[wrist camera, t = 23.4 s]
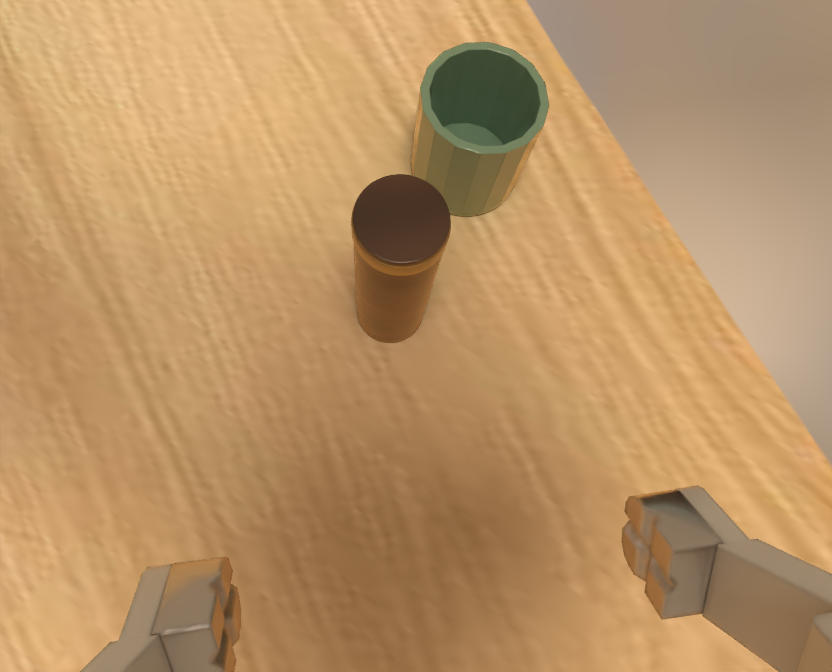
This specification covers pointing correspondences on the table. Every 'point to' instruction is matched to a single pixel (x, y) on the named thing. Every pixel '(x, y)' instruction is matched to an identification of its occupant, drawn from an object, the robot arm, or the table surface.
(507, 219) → the table surface
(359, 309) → the rod
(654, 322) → the table surface
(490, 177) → the tumbler
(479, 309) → the table surface
